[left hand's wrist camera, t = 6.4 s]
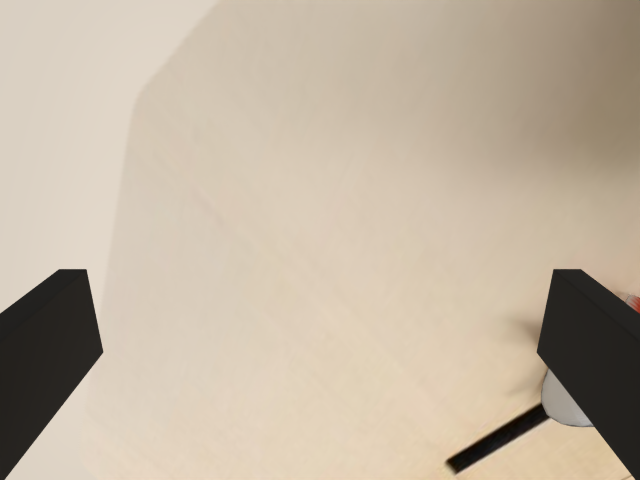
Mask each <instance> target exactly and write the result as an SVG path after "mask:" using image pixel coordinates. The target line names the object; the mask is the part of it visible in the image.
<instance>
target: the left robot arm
mask: <svg viewBox="0 0 640 480" xmlns="http://www.w3.org/2000/svg"><path fill="white" fill-rule="evenodd" d="M102 353H103V348H102V343H101V338H100V334H99V329H98V324H97V319H96V314H95V309H94V304H93V299H92V294H91V289H90V284H89V280H88V275H87V270H86V269H59V270H58V271H56V272H55V273H54V274H52V275H51V276H50V277H48V278H47V279H46V280H44V281H43V282H42V283H40V284H39V285H38V286H36V287H35V288H34V289H32V290H31V291H30V292H28V293H27V294H26V295H24V296H23V297H22V298H20V299H19V300H18V301H16V302H15V303H14V304H12V305H11V306H10V307H8V308H7V309H6V310H4V311H3V312H2V313H0V480H5V478H6V477H7V476H8V475H9V473H10V472H11V471H12V469H13V468H14V467H15V465H16V464H17V463H18V462H19V460H20V459H21V458H22V456H23V455H24V454H25V453H26V451H27V450H28V449H29V447H30V446H31V445H32V444H33V442H34V441H35V440H36V438H37V437H38V436H39V435H40V433H41V432H42V431H43V429H44V428H45V427H46V426H47V424H48V423H49V422H50V420H51V419H52V418H53V417H54V415H55V414H56V413H57V411H58V410H59V409H60V408H61V406H62V405H63V404H64V402H65V401H66V400H67V399H68V397H69V396H70V395H71V393H72V392H73V391H74V389H75V388H76V387H77V386H78V384H79V383H80V382H81V380H82V379H83V378H84V377H85V375H86V374H87V373H88V371H89V370H90V369H91V368H92V366H93V365H94V364H95V362H96V361H97V360H98V359H99V357H100V356H101V355H102ZM537 353H538V355H539V356H540V357H541V359H542V360H543V361H544V362H545V364H546V365H547V366H548V368H549V369H550V370H551V371H552V373H553V374H554V375H555V377H556V378H557V379H558V380H559V382H560V383H561V384H562V386H563V387H564V388H565V390H566V391H567V392H568V393H569V395H570V396H571V397H572V399H573V400H574V401H575V402H576V404H577V405H578V406H579V408H580V409H581V410H582V411H583V413H584V414H585V415H586V417H587V418H588V419H589V420H590V422H591V423H592V424H593V426H594V427H595V428H596V429H597V431H598V432H599V433H600V435H601V436H602V437H603V438H604V440H605V441H606V442H607V444H608V445H609V446H610V447H611V449H612V450H613V451H614V453H615V454H616V455H617V457H618V458H619V459H620V460H621V462H622V463H623V464H624V466H625V467H626V468H627V469H628V471H629V472H630V473H631V475H632V476H633V477H634V478H635V480H640V313H638V312H637V311H636V310H634V309H633V308H632V307H630V306H629V305H628V304H626V303H625V302H624V301H622V300H621V299H620V298H618V297H617V296H616V295H614V294H613V293H612V292H610V291H609V290H608V289H606V288H605V287H604V286H602V285H601V284H600V283H598V282H597V281H596V280H594V279H593V278H592V277H590V276H589V275H588V274H586V273H585V272H584V271H582V270H581V269H554V270H553V275H552V280H551V284H550V289H549V294H548V299H547V304H546V309H545V314H544V319H543V324H542V329H541V334H540V338H539V343H538V348H537Z"/></svg>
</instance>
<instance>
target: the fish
mask: <svg viewBox="0 0 640 480" xmlns="http://www.w3.org/2000/svg"><path fill="white" fill-rule="evenodd" d="M626 304H628V305H629V306H630V307H632V308H633V309H634V310H636V311H637V312H638V313H640V298H639V297H636V296H633V295H629V296H628V298H627V300H626ZM541 402H542V405H543V407H544V409H545V411H546V413H547V415H548V416H550V417H551V418H552V419H554V420H555V421H557V422H559V423H561V424H564V425H568V426H575V427H594V426H593V424H592V423H591V422H590V420H589V419H588V418H587V417H586V415H585V414H584V413H583V411H582V410H581V409H580V408H579V406H578V405H577V404H576V402H575V401H574V400H573V399H572V397H571V396H570V395H569V393H568V392H567V391H566V390H565V388H564V387H563V386H562V384H561V383H560V382H559V380H558V379H557V378H556V377H555V375H554V374H553V373H552V371H551V370H550V369H548V371H547V373H546V375H545V378H544V382H543V385H542V391H541Z"/></svg>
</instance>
